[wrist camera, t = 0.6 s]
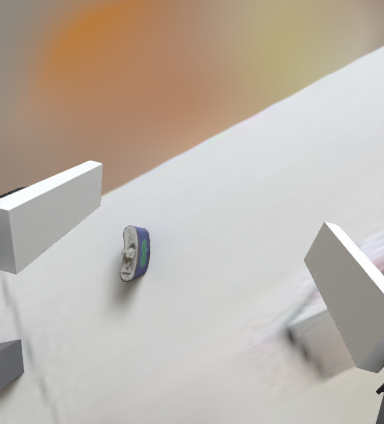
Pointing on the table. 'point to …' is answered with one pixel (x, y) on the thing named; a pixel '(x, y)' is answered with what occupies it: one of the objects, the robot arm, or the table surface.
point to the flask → (135, 253)
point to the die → (10, 362)
